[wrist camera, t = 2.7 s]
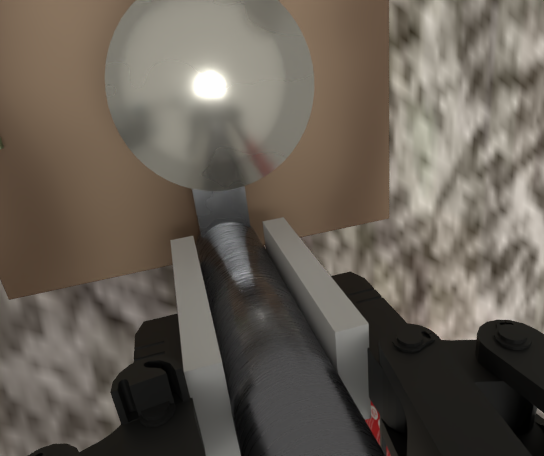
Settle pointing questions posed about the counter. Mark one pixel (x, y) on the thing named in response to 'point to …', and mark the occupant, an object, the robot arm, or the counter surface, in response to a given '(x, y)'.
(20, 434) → the counter surface
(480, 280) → the counter surface
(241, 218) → the metal dial lever
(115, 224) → the tuner board
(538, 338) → the robot arm
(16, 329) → the counter surface
